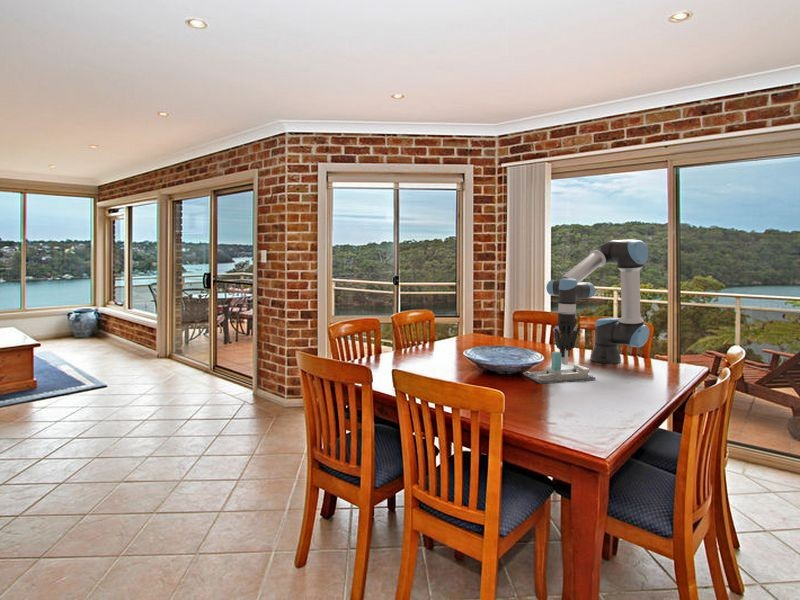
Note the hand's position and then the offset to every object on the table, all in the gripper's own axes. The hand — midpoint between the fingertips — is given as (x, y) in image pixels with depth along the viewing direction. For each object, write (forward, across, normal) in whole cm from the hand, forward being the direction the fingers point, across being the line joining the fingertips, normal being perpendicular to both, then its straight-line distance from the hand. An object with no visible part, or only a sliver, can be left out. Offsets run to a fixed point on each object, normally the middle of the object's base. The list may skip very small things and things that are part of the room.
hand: (564, 363), depth 215 cm
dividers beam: (+7, +1, -3) cm, 7 cm away
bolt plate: (+8, 0, -5) cm, 9 cm away
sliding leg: (+6, +4, -3) cm, 8 cm away
